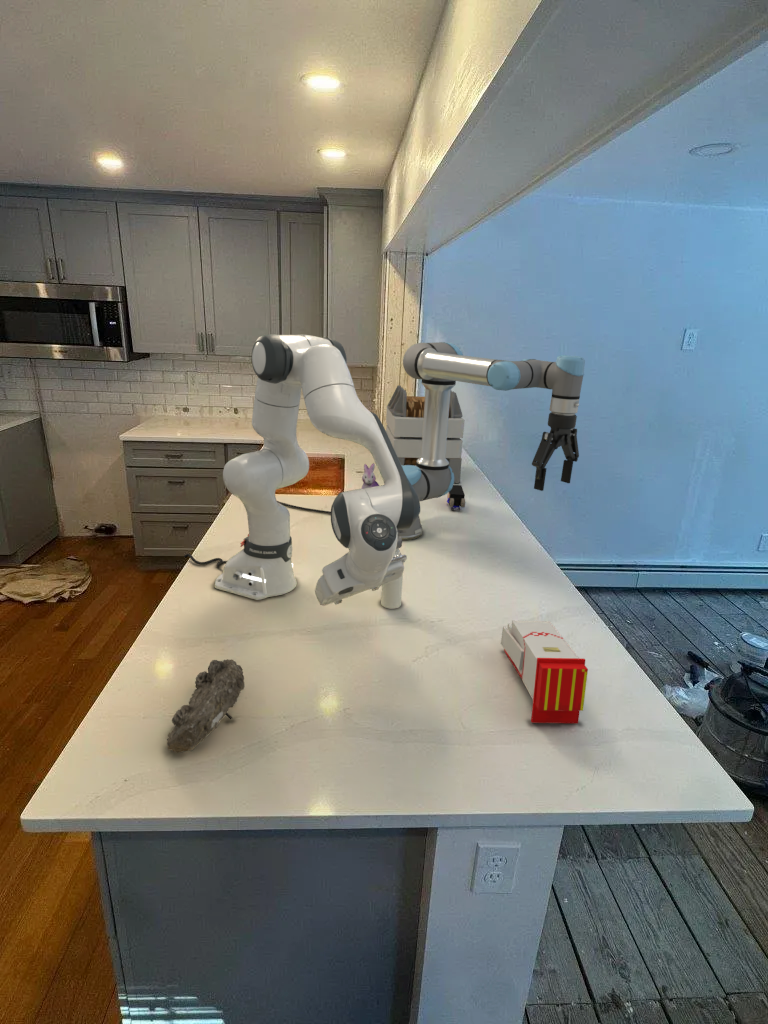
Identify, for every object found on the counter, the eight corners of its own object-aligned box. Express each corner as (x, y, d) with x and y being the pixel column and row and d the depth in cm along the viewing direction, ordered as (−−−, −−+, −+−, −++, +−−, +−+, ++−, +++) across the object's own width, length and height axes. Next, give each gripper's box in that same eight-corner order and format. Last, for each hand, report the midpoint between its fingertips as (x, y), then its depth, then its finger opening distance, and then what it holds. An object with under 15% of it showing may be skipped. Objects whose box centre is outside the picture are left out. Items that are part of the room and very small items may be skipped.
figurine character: (465, 515, 224) (460, 499, 237) (467, 498, 221) (462, 483, 234) (448, 515, 224) (444, 499, 237) (450, 498, 220) (445, 482, 234)
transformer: (382, 463, 289) (386, 382, 275) (445, 464, 293) (451, 384, 279) (390, 482, 257) (394, 392, 243) (460, 483, 261) (468, 394, 247)
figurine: (365, 504, 228) (366, 468, 223) (354, 496, 236) (355, 461, 231) (386, 501, 232) (387, 466, 227) (375, 494, 240) (376, 460, 235)
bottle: (405, 604, 152) (409, 540, 146) (390, 610, 149) (394, 545, 143) (391, 596, 156) (394, 534, 150) (376, 602, 153) (379, 539, 146)
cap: (404, 546, 147) (405, 539, 146) (393, 550, 144) (394, 542, 143) (394, 541, 149) (394, 534, 149) (383, 545, 147) (383, 537, 146)
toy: (547, 606, 135) (596, 665, 106) (541, 658, 138) (589, 729, 108) (496, 604, 134) (532, 664, 105) (492, 657, 137) (526, 729, 108)
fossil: (192, 660, 117) (244, 628, 112) (224, 691, 120) (276, 661, 115) (142, 746, 98) (202, 712, 93) (182, 779, 101) (242, 748, 96)
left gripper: (402, 540, 124) (389, 568, 136) (315, 569, 117) (309, 596, 128) (414, 565, 122) (400, 591, 133) (327, 596, 114) (320, 621, 125)
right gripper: (548, 419, 148) (537, 496, 155) (598, 411, 163) (586, 482, 171) (525, 414, 153) (515, 489, 160) (575, 407, 169) (564, 476, 176)
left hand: (355, 594), depth 131 cm, fingers open, 8 cm apart
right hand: (552, 485), depth 166 cm, fingers open, 13 cm apart
